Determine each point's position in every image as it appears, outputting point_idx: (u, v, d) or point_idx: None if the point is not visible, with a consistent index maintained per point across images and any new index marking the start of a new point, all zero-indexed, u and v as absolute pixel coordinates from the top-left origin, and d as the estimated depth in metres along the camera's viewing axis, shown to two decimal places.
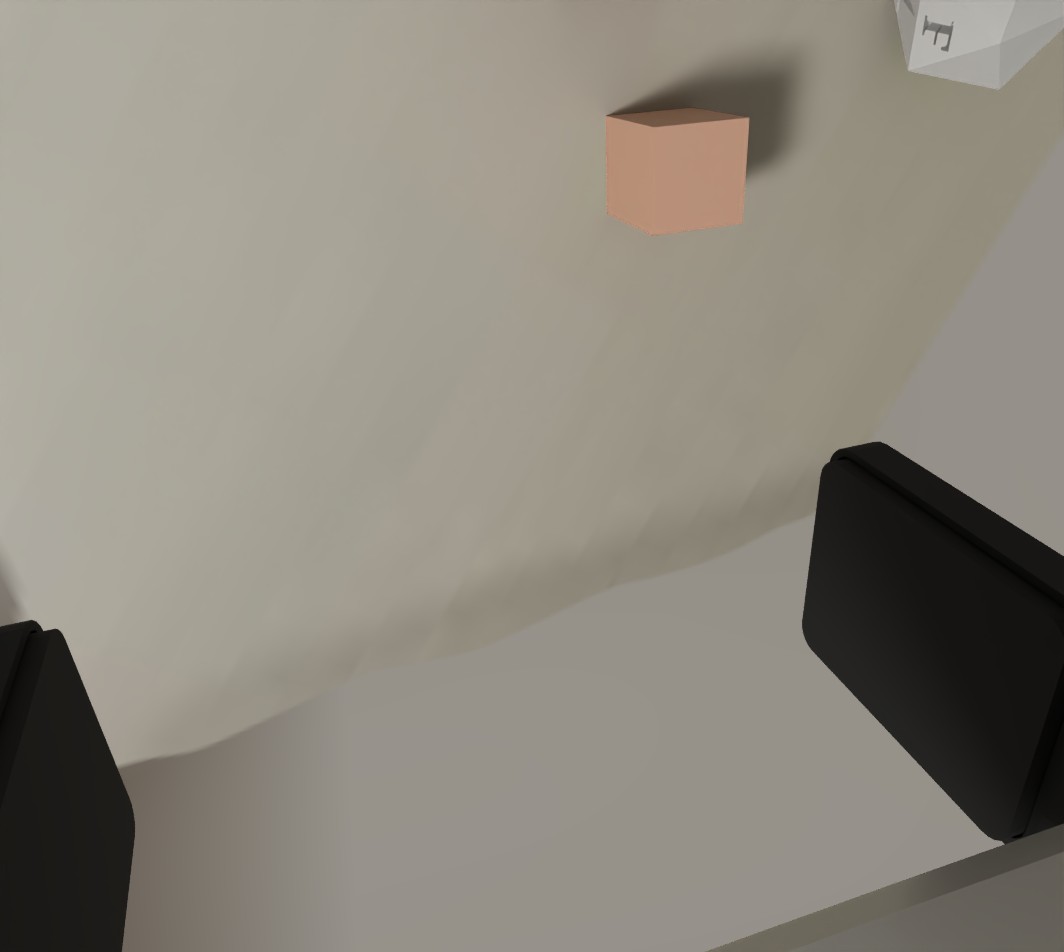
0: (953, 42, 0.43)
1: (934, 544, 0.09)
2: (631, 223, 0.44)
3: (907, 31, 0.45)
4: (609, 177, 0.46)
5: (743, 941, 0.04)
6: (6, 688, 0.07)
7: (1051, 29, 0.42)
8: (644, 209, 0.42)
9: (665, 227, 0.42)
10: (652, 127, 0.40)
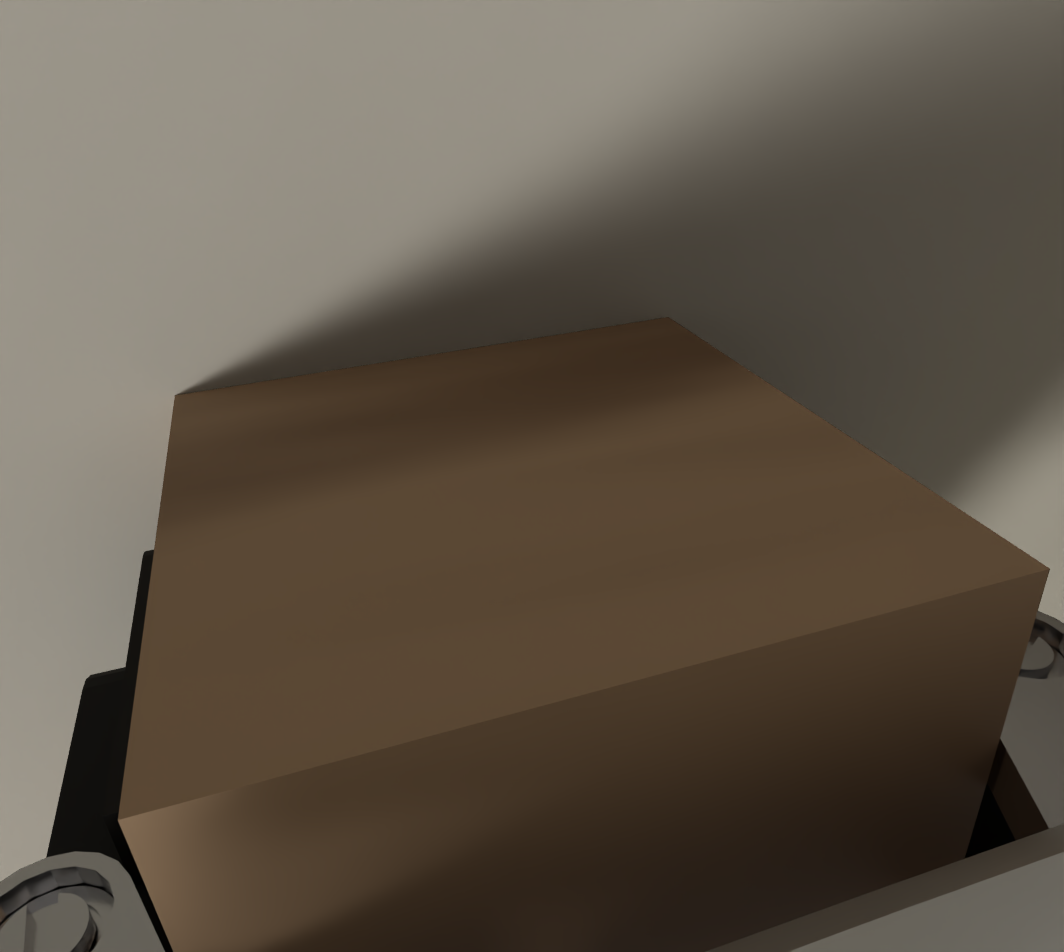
0: None
1: None
2: None
3: None
4: None
5: (743, 941, 0.04)
6: None
7: None
8: None
9: None
10: None
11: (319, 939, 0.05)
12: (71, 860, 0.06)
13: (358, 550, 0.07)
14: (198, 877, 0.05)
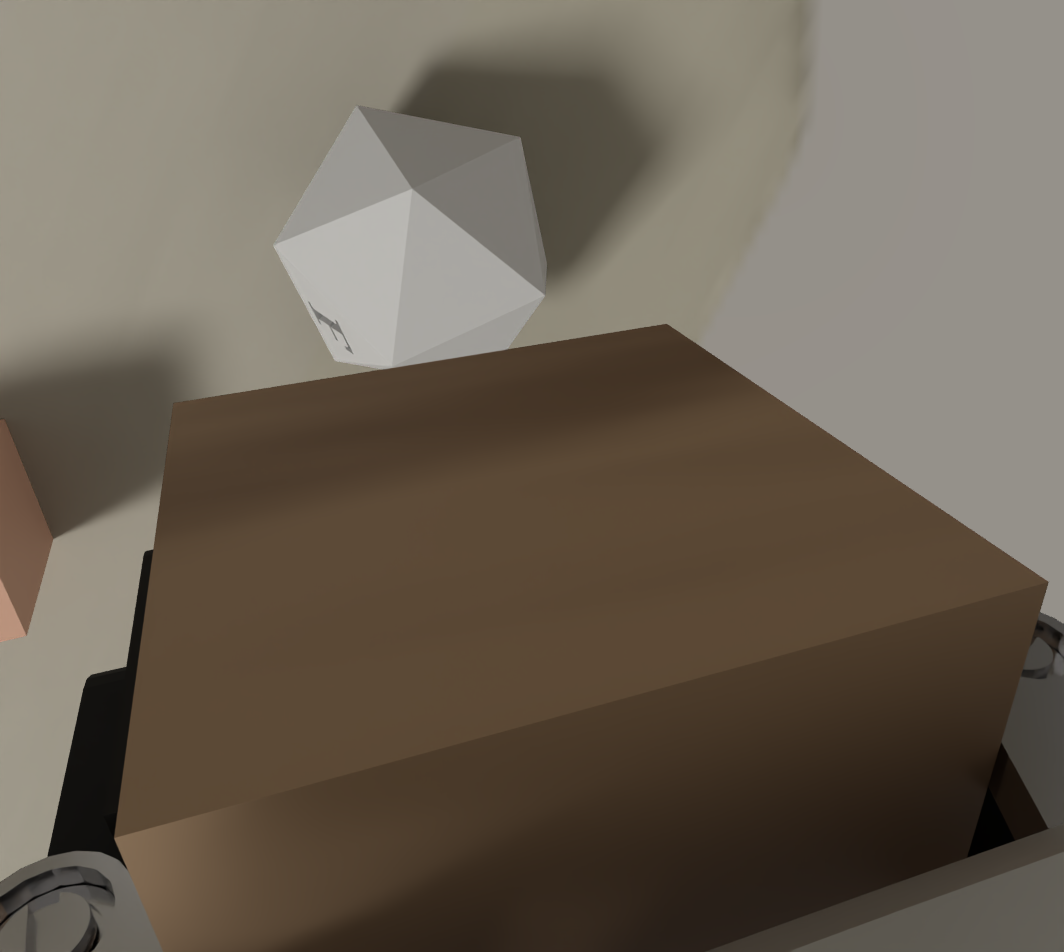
0: (351, 345, 0.27)
1: None
2: None
3: None
4: None
5: (743, 941, 0.04)
6: None
7: (499, 328, 0.26)
8: None
9: None
10: None
11: None
12: (73, 859, 0.06)
13: (356, 562, 0.06)
14: (195, 893, 0.05)
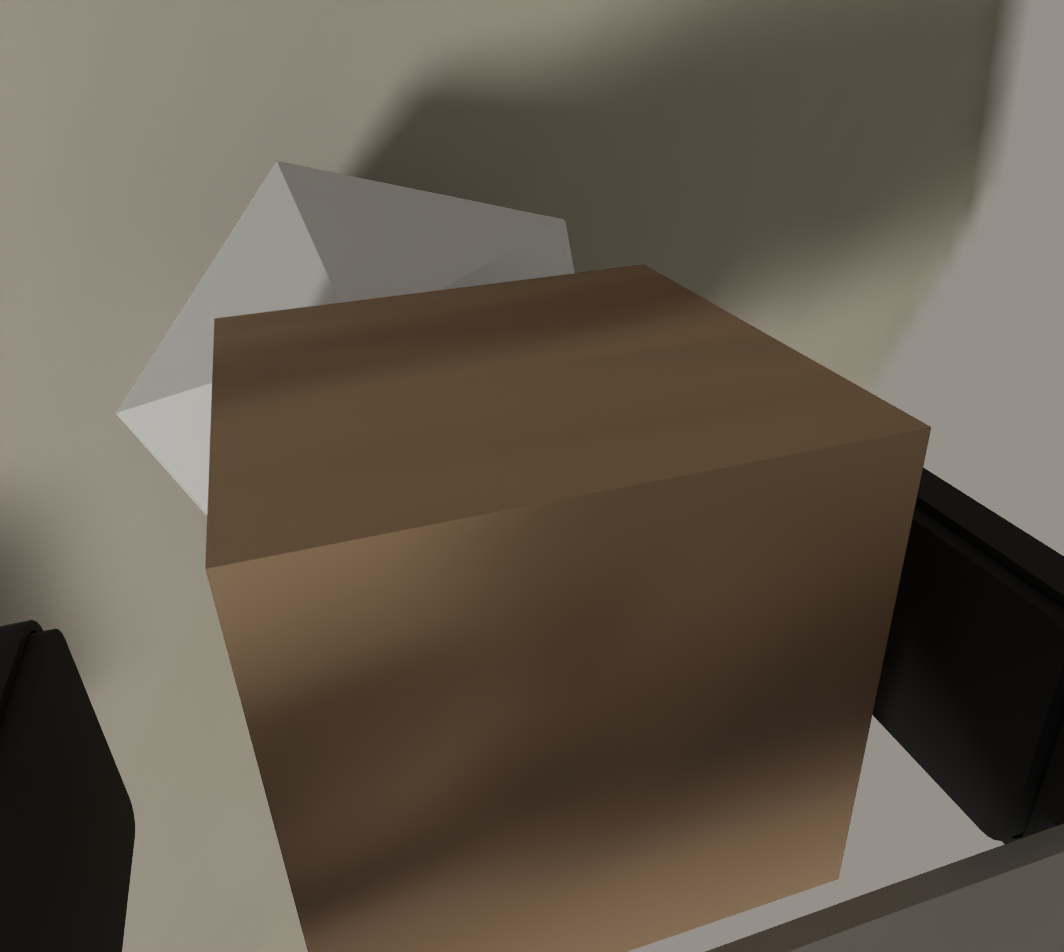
0: None
1: (934, 544, 0.09)
2: None
3: None
4: None
5: (742, 941, 0.04)
6: (6, 688, 0.07)
7: None
8: None
9: None
10: None
11: (347, 697, 0.07)
12: None
13: (378, 417, 0.08)
14: (261, 627, 0.06)
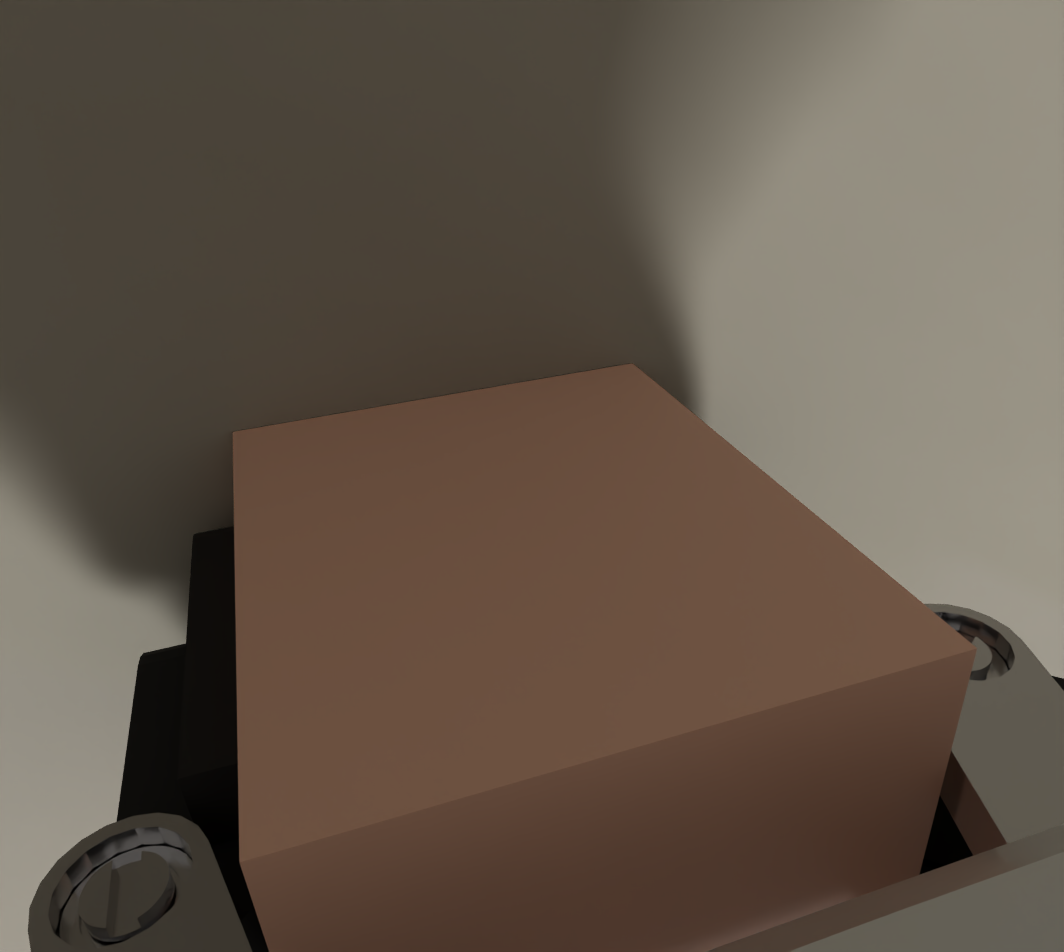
0: None
1: None
2: None
3: None
4: None
5: (742, 941, 0.04)
6: None
7: None
8: None
9: None
10: None
11: None
12: (148, 821, 0.06)
13: None
14: None
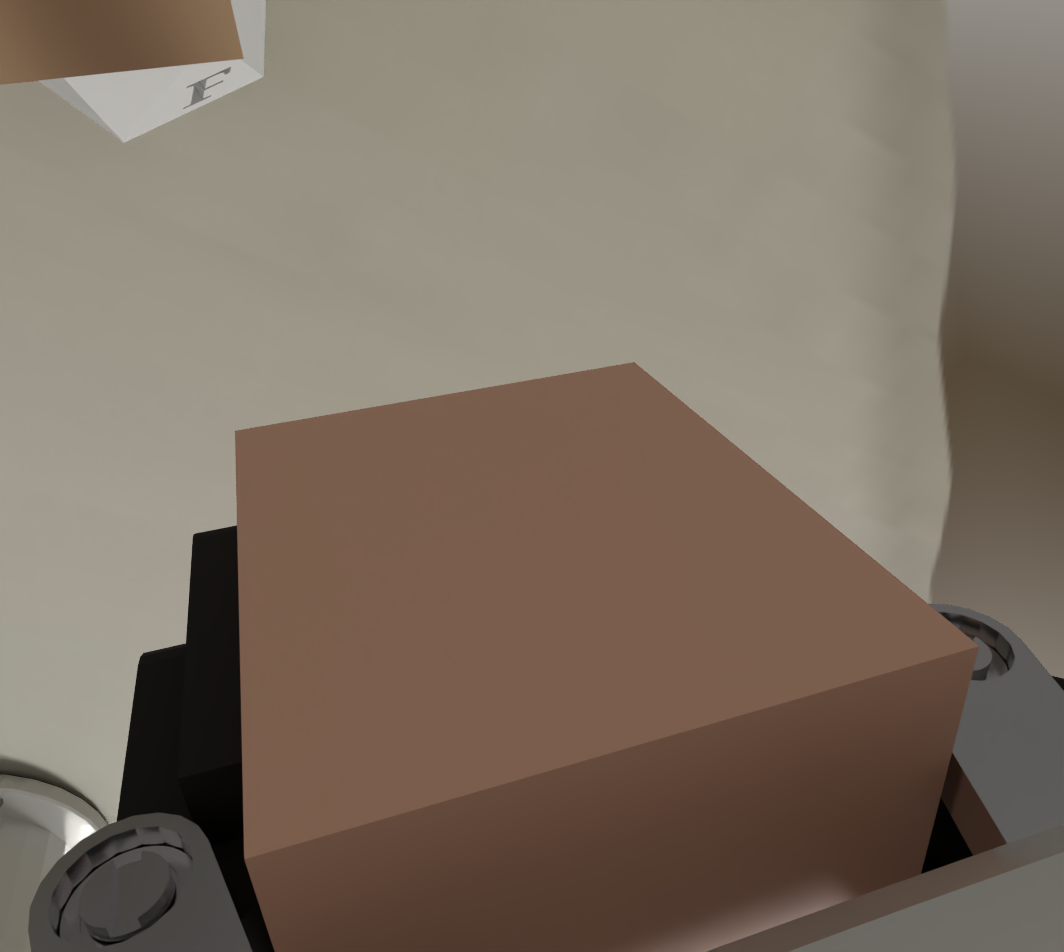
0: (216, 70, 0.25)
1: None
2: None
3: None
4: None
5: (743, 941, 0.04)
6: None
7: None
8: None
9: None
10: None
11: None
12: (148, 821, 0.06)
13: None
14: None
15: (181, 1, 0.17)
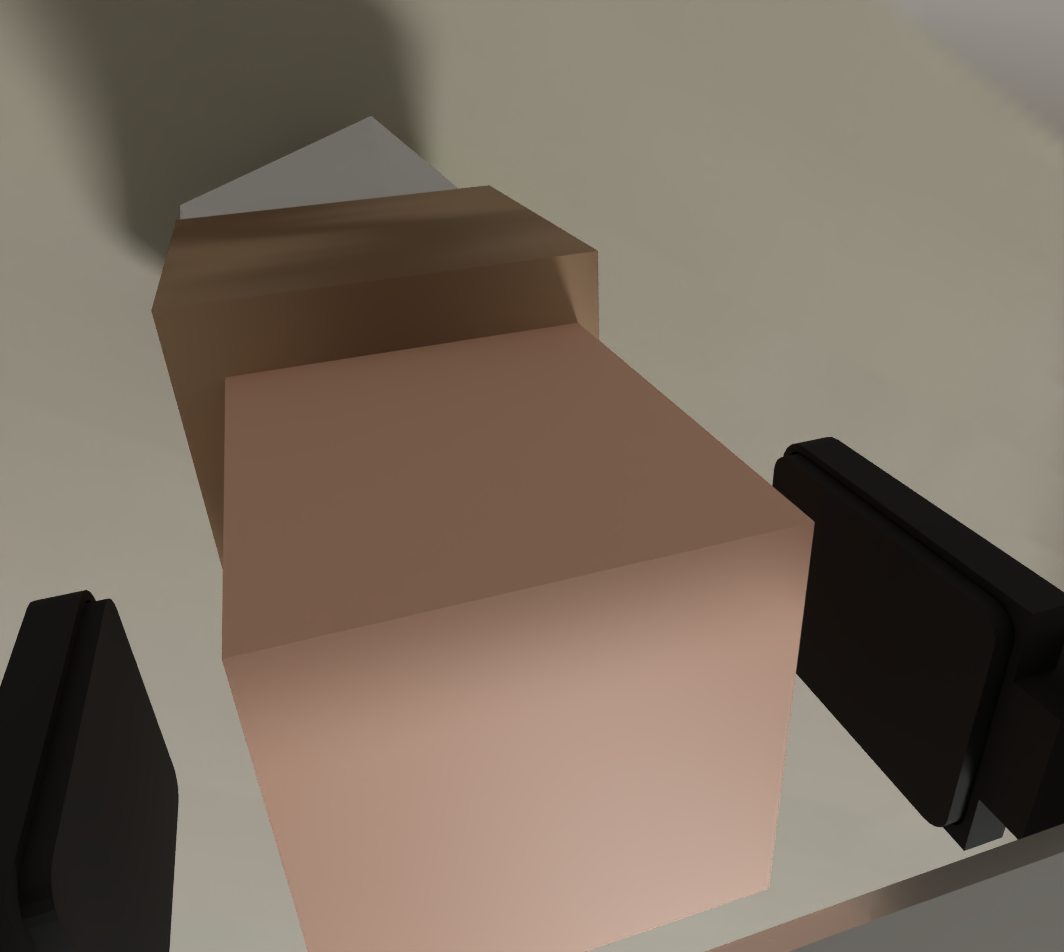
0: None
1: (876, 537, 0.09)
2: None
3: None
4: None
5: (743, 941, 0.04)
6: (68, 651, 0.08)
7: None
8: None
9: (750, 856, 0.09)
10: None
11: None
12: None
13: None
14: None
15: None
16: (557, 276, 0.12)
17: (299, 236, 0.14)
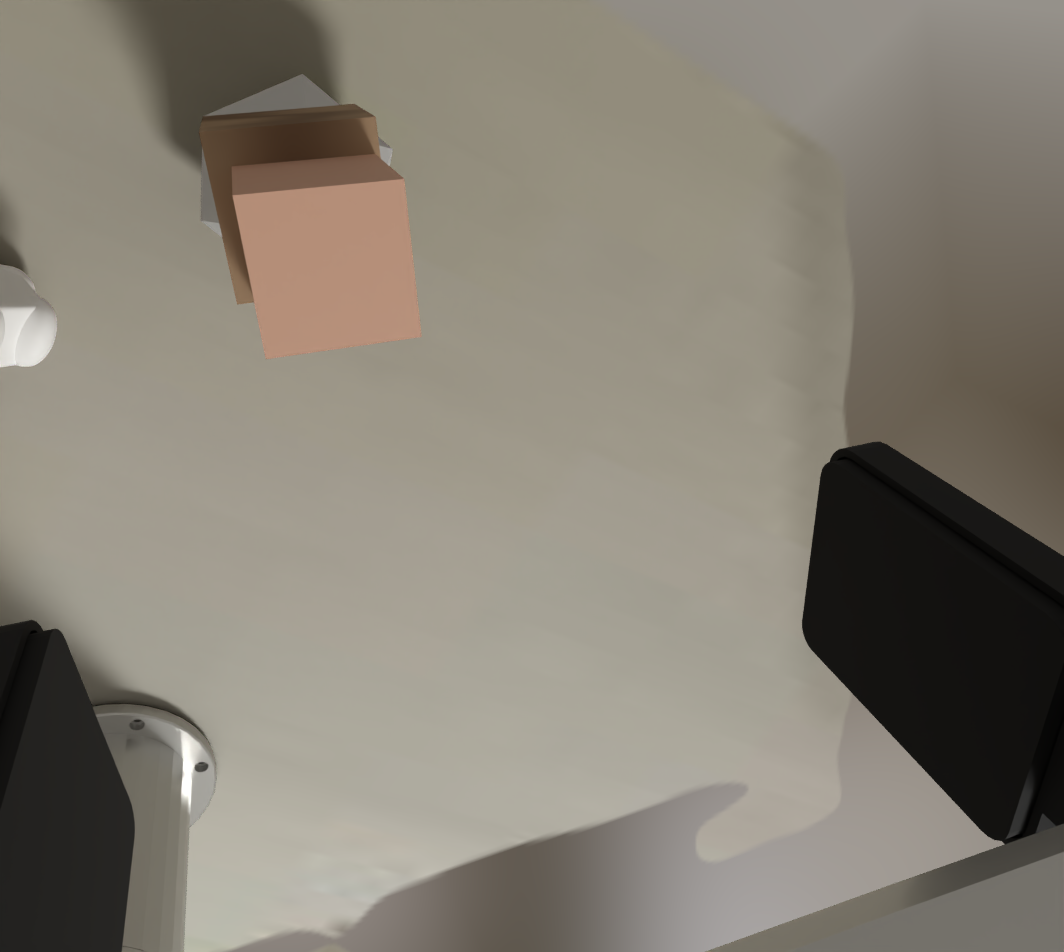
0: None
1: (934, 544, 0.09)
2: None
3: None
4: None
5: (742, 941, 0.04)
6: (6, 688, 0.07)
7: None
8: None
9: (410, 316, 0.28)
10: None
11: None
12: None
13: None
14: (252, 295, 0.32)
15: None
16: (359, 126, 0.30)
17: (258, 118, 0.32)
